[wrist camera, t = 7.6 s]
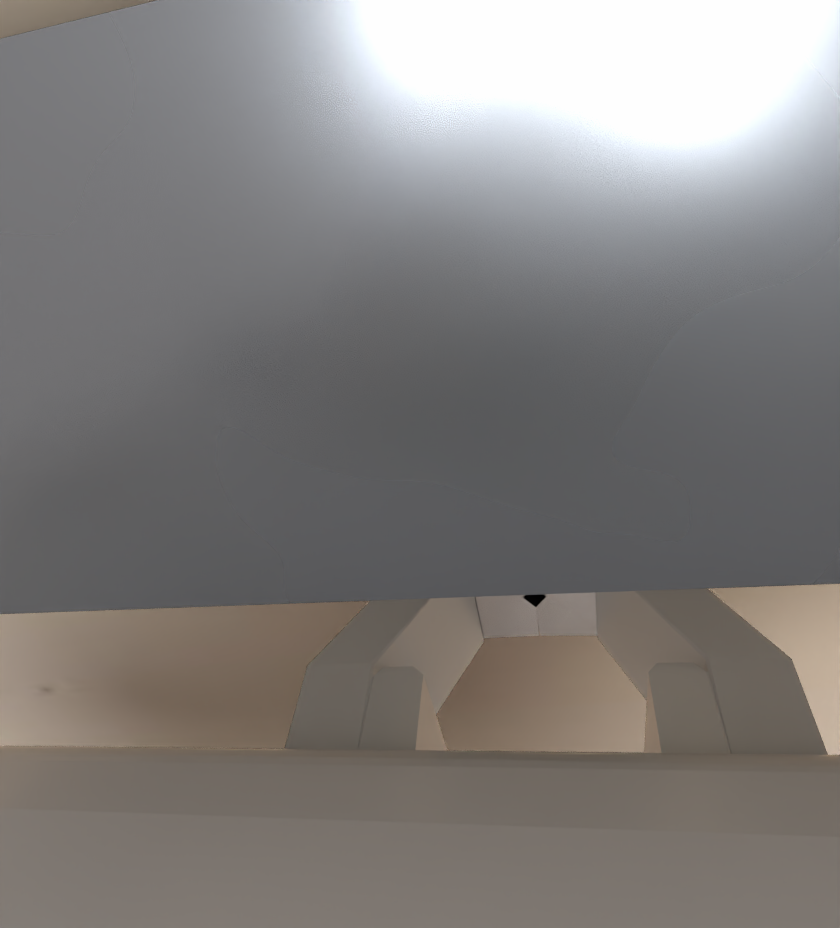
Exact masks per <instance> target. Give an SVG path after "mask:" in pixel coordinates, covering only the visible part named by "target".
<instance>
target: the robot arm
mask: <svg viewBox="0 0 840 928" xmlns="http://www.w3.org/2000/svg"><path fill="white" fill-rule="evenodd" d="M539 633H540V636H597V638H598V640H599V641H600V642H601V643H602V645H603V646H604V647H605V648H606V650H607V651H608V652H609V654H610V655H611V656H612V657H613V659H614V660H615V661H616V662H617V664H618V665H619V666H620V667H621V669H622V670H623V671H624V673H625V674H626V675H627V676H628V678H629V679H630V680H631V681H632V683H633V684H634V685H635V687H636V688H637V689H638V690H639V692H640V693H641V694H642V695H643V697H644V698H645V699H646V700H647V706H646V725H645V743H644V753H621V752H528V751H447V747H446V744H445V741H444V738H443V735H442V732H441V729H440V726H439V723H438V719H437V716H436V714H437V712H438V711H439V709H440V708H441V706H442V705H443V703H444V702H445V700H446V699H447V697H448V696H449V694H450V693H451V691H452V690H453V688H454V686H455V685H456V683H457V682H458V680H459V679H460V677H461V676H462V674H463V673H464V671H465V670H466V668H467V667H468V665H469V664H470V662H471V661H472V659H473V658H474V656H475V654H476V653H477V651H478V650H479V648H480V647H481V645H482V644H483V642H484V640H483V638H502V637H521V636H539ZM0 928H840V755H828V754H827V751H826V749H825V746H824V743H823V741H822V738H821V735H820V733H819V730H818V728H817V725H816V722H815V720H814V717H813V714H812V712H811V709H810V706H809V704H808V701H807V699H806V696H805V693H804V691H803V688H802V685H801V683H800V680H799V677H798V675H797V672H796V670H795V667H794V664H793V662H792V659H791V658H790V657H789V656H788V655H786V654H785V653H784V652H783V651H781V650H780V649H779V648H778V647H777V646H775V645H774V644H773V643H772V642H771V641H769V640H768V639H767V638H766V637H765V636H763V635H762V634H761V633H760V632H759V631H757V630H756V629H755V628H754V627H753V626H751V625H750V624H749V623H748V622H747V621H745V620H744V619H743V618H742V617H741V616H739V615H738V614H737V613H736V612H735V611H733V610H732V609H731V608H730V607H729V606H727V605H726V604H725V603H724V602H723V601H721V600H720V599H719V598H718V597H717V596H715V595H714V594H713V593H712V592H711V591H709V590H708V589H707V588H704V589H676V590H648V591H621V592H593V593H566V594H538V595H511V596H483V597H456V598H428V599H401V600H373V601H370V602H369V603H368V604H367V605H366V606H365V607H364V608H363V609H362V610H361V611H360V612H359V613H358V614H357V615H356V616H355V617H354V618H353V619H352V620H351V621H350V622H349V623H348V624H347V625H346V626H345V627H344V628H343V629H342V630H341V632H340V633H339V634H338V635H337V636H336V637H335V638H334V639H333V640H332V641H331V642H330V643H329V644H328V645H327V646H326V647H325V648H324V649H323V650H322V651H321V652H320V653H319V654H318V655H317V656H316V657H315V658H314V659H313V660H312V661H311V662H310V663H309V664H308V666H307V669H306V673H305V677H304V680H303V684H302V687H301V691H300V695H299V698H298V702H297V705H296V709H295V713H294V716H293V720H292V723H291V727H290V731H289V734H288V738H287V741H286V745H285V749H272V748H181V747H89V746H0Z"/></svg>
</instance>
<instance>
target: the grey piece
mask: <svg viewBox="0 0 840 928" xmlns="http://www.w3.org/2000/svg"><path fill="white" fill-rule="evenodd" d="M814 584H840V0H156V1H152V2H148V3H144V4H140V5H136V6H132V7H128V8H123V9H119V10H115V11H111V12H107V13H103V14H99V15H95V16H91V17H87V18H83V19H79V20H75V21H70V22H66V23H62V24H58V25H54V26H50V27H46V28H42V29H38V30H34V31H30V32H26V33H22V34H17V35H13V36H9V37H5V38H1V39H0V614H15V613H43V612H70V611H98V610H125V609H153V608H180V607H208V606H235V605H263V604H290V603H318V602H346V601H373V600H401V599H428V598H456V597H483V596H511V595H538V594H566V593H593V592H621V591H648V590H676V589H704V588H731V587H759V586H786V585H814Z"/></svg>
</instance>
